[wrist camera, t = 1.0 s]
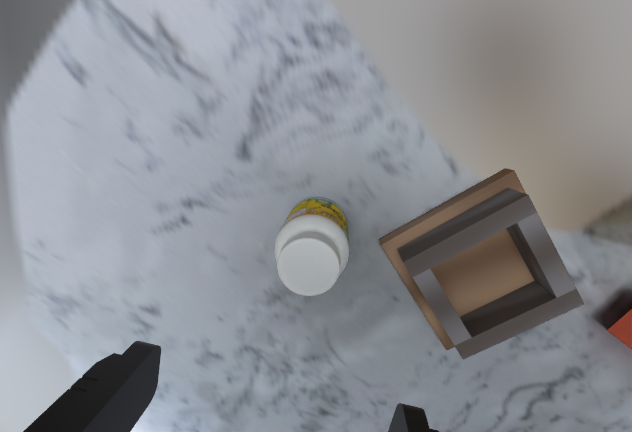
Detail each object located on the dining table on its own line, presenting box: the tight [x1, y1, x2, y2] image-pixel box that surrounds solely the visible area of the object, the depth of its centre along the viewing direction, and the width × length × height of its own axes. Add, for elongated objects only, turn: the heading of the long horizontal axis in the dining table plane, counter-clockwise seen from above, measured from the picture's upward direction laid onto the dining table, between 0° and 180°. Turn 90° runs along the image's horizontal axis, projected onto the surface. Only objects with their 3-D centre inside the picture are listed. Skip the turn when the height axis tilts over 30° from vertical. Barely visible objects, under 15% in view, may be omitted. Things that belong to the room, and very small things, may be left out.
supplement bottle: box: [275, 197, 349, 296], centre depth 25 cm, size 5×5×10 cm
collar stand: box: [379, 169, 584, 359], centre depth 28 cm, size 12×12×4 cm
